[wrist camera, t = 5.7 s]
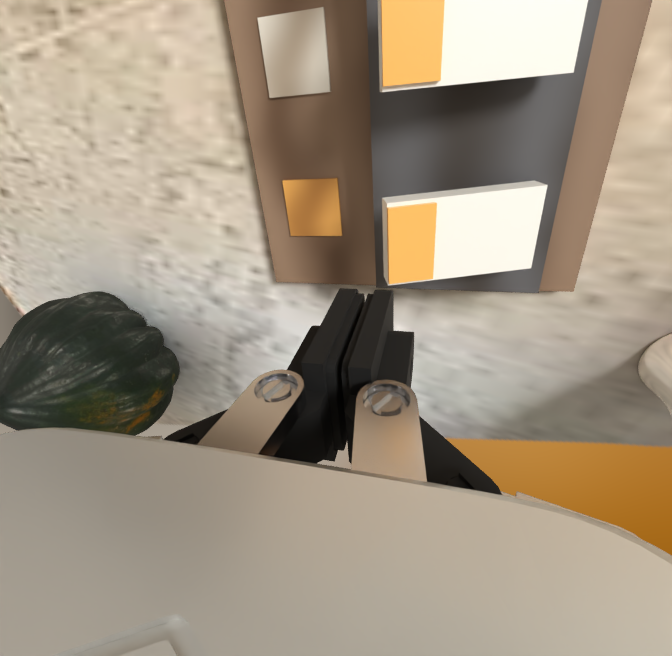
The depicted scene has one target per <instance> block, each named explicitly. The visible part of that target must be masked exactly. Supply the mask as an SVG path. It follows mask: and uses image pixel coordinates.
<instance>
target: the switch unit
mask: <svg viewBox="0 0 672 656" xmlns="http://www.w3.org/2000/svg"><path fill="white" fill-rule="evenodd" d="M224 3H225V8H226V14H227V19H228V24H229V30H230V35H231V41H232V46H233V51H234V57H235V62H236V67H237V73H238V78H239V84H240V89H241V94H242V100H243V105H244V110H245V116H246V121H247V127H248V132H249V137H250V143H251V148H252V153H253V159H254V164H255V170H256V175H257V180H258V186H259V191H260V196H261V202H262V207H263V213H264V218H265V223H266V229H267V234H268V239H269V245H270V250H271V256H272V261H273V266H274V272H275V277H276V282H295V283H325V284H356V285H376V287H378V288H407V289H436V290H465V291H495V292H524V293H539V291H570V292H573V291H574V288H575V284H576V280H577V277H578V273H579V269H580V266H581V262H582V258H583V254H584V251H585V247H586V243H587V240H588V236H589V232H590V229H591V225H592V221H593V218H594V214H595V210H596V206H597V203H598V199H599V195H600V192H601V188H602V184H603V181H604V177H605V173H606V170H607V166H608V162H609V158H610V155H611V151H612V147H613V144H614V140H615V136H616V133H617V129H618V125H619V121H620V118H621V114H622V110H623V107H624V103H625V99H626V96H627V92H628V88H629V85H630V81H631V77H632V73H633V70H634V66H635V62H636V59H637V55H638V51H639V48H640V44H641V40H642V37H643V33H644V29H645V25H646V22H647V18H648V14H649V11H650V7H651V3H652V0H588V3H587V8H586V13H585V18H584V23H583V28H582V33H581V38H580V43H579V48H578V53H577V58H576V63H575V68H574V73H564V74H555V75H545V76H535V77H525V78H515V79H505V80H496V81H486V82H476V83H466V84H456V85H447V86H437V87H427V88H417V89H407V90H397V91H388V92H380V83H379V37H378V0H224ZM534 180H535V181H537V182H540V183H543V184H546V185H548V186H547V191H546V196H545V201H544V206H543V211H542V216H541V221H540V226H539V231H538V236H537V241H536V246H535V251H534V256H533V261H532V266H531V268H529V269H521V270H512V271H504V272H496V273H488V274H479V275H471V276H463V277H455V278H446V279H438V280H430V281H422V282H413V283H405V284H397V285H389V286H388V284H387V282H386V280H385V278H384V264H383V218H382V198H384V197H393V196H401V195H410V194H419V193H428V192H437V191H446V190H455V189H463V188H472V187H481V186H490V185H499V184H508V183H517V182H525V181H534Z"/></svg>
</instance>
